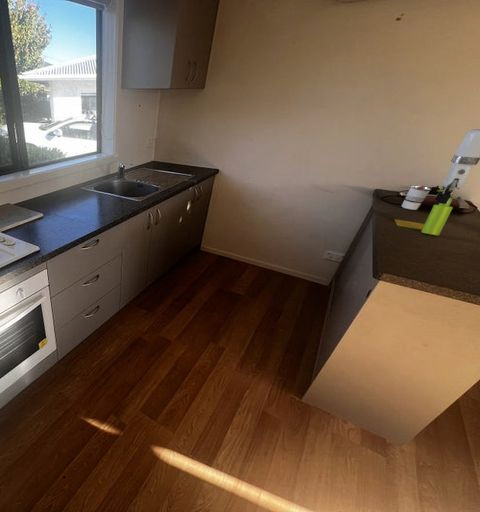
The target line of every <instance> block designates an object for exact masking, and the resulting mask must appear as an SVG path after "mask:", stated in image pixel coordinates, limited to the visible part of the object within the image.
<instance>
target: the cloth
mask: <svg viewBox="0 0 480 512" xmlns="http://www.w3.org/2000/svg"><path fill="white" fill-rule="evenodd" d="M394 221H395V224H396V226H399V227H404V228H410V229H414V230H421V231H422V229H423V227H424V225H425V223H421V222H415V221H407V220H402V219H394Z"/></svg>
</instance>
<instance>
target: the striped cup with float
mask: <svg viewBox="0 0 480 512" xmlns="http://www.w3.org/2000/svg"><path fill="white" fill-rule="evenodd" d="M430 191H432V188H430V187H427V186H421V185H410V188H409V190H408V192H407V194H406V195H405V197H404V200H403V201H402V204H401V205H400V206H401V207H402V208H403V209H407V210H414V211H417V210H418V209H419V208H420V207H421V205H422V203H423V202H424V200H425V199H426V197H427V196H428V194H429V193H430Z"/></svg>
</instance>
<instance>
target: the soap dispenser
mask: <svg viewBox="0 0 480 512" xmlns="http://www.w3.org/2000/svg"><path fill="white" fill-rule="evenodd" d="M443 191H444V190H441V189H438V190H437V192H438V193H439V192H443ZM455 193H456V191H455V190H454V191H453V193H452V194H455ZM452 201H453V198H452V196H451V197H450V198H449V200H448V202H447V203H446V204H441V203H437V204H433V205H432V208H431V210H430V212H429V214H428V216H427V218H426V220H425V222H424V224H425V225H424V227H423V229H422V230H421V231H420V233H422V234H427V235H433V236H440V235H441V232H442V230H443V228H444V226H445V224H446V222H447V220H448V219H449V216H450V214H451V212H452V210H453V209H454V207H453V206H450V205H451V203H452Z"/></svg>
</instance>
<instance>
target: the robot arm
mask: <svg viewBox="0 0 480 512" xmlns="http://www.w3.org/2000/svg"><path fill="white" fill-rule="evenodd" d="M479 162H480V128H475V129H470V130H468V132H466V134H465V136H464V137H463V139H462V141H461V143H460V144H459V147H458V148H457V150H456V151H455V153H454V155H453V157H452V158H451V160H450V162H449V164H451V166H450V168H449V170H448V171H447V173H446V174H445V177H444V178H443V180H442V187H441V189H440V190H444V191H443V192H438V193H437V194H436V196H435V198H434V201H435V203H436V204H439V203H441V204H446V203H447V202H448V200H449V198H450V197H451V198H452V196H453V194H454V193H453V191H455V190H456V189H457V190H461V189H462V187H463V186H464V184H465V182H466V181H467V179H468V176H469V175H470V173H471V171H472V168H473V167H476V166H477V165H478V163H479Z"/></svg>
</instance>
